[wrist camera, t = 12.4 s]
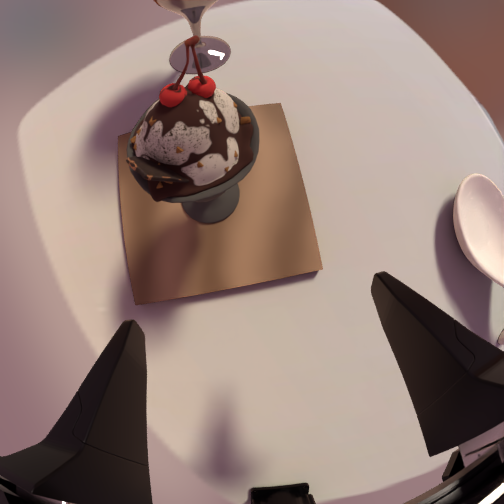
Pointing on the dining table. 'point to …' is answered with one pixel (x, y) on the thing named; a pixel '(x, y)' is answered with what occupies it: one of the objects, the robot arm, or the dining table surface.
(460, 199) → the spoon rest
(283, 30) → the dining table surface
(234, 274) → the serving board
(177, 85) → the sundae
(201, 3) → the wine glass
